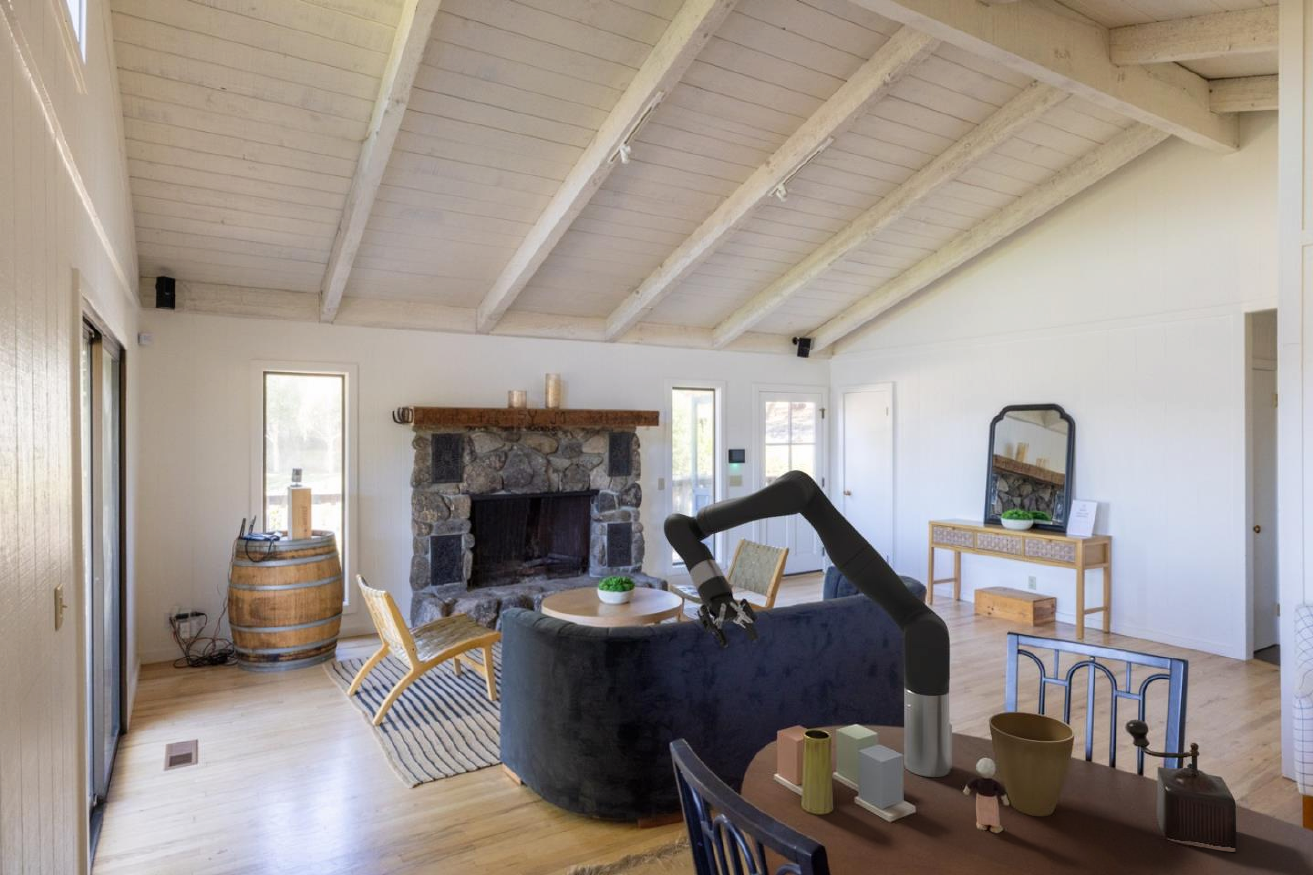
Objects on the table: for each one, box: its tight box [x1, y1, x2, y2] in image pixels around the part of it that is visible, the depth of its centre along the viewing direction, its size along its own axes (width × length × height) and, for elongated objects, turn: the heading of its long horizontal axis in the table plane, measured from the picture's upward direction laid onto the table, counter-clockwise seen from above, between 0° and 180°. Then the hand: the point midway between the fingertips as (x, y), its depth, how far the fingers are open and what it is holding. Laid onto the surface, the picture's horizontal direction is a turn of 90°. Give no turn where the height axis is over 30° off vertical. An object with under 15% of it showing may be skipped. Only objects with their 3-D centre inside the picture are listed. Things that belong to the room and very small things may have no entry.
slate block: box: [857, 743, 905, 809], centre depth 147 cm, size 6×6×9 cm
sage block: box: [835, 723, 879, 783], centre depth 158 cm, size 6×6×9 cm
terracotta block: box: [776, 725, 809, 785], centre depth 157 cm, size 6×6×9 cm
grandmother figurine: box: [962, 757, 1010, 834], centre depth 139 cm, size 8×4×13 cm, turn 71°
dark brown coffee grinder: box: [1125, 719, 1237, 849], centre depth 138 cm, size 16×11×18 cm
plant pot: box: [988, 711, 1076, 817], centre depth 146 cm, size 15×15×16 cm
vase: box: [800, 728, 834, 816], centre depth 146 cm, size 6×6×14 cm
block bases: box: [773, 771, 917, 823], centre depth 152 cm, size 18×25×1 cm
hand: (741, 643), depth 171 cm, fingers open, 8 cm apart
